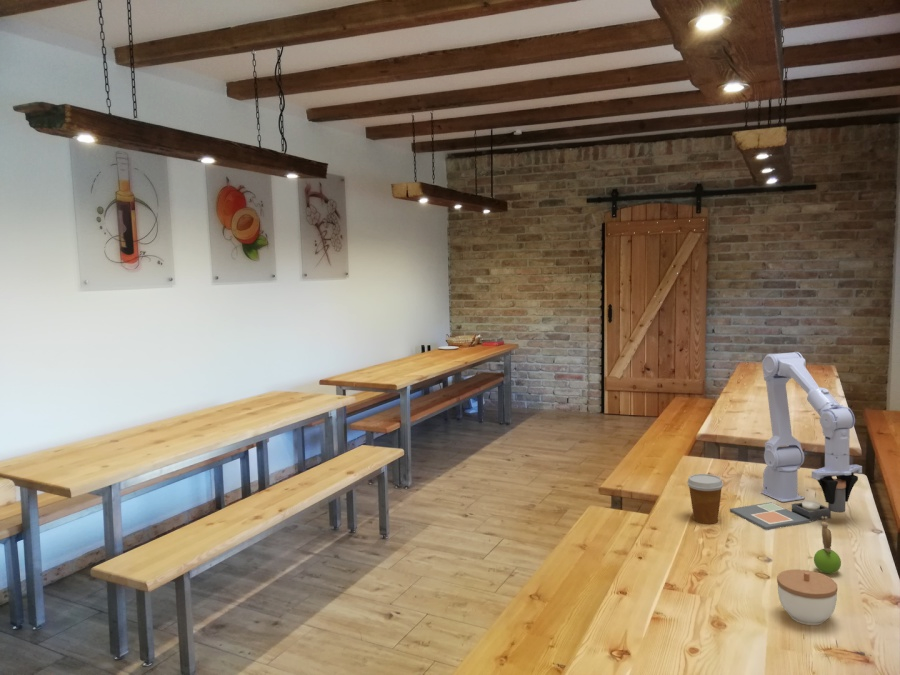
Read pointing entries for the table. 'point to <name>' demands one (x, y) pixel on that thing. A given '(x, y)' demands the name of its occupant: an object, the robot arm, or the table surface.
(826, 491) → the robot arm
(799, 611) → the lidded jar
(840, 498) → the grey canister
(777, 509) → the picture board
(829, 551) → the green tan bulb piece
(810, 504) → the button
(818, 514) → the button housing
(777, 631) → the table surface
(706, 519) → the disposable coffee cup
